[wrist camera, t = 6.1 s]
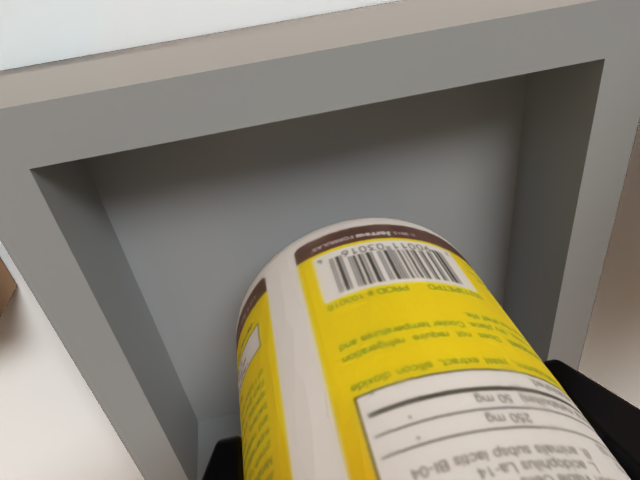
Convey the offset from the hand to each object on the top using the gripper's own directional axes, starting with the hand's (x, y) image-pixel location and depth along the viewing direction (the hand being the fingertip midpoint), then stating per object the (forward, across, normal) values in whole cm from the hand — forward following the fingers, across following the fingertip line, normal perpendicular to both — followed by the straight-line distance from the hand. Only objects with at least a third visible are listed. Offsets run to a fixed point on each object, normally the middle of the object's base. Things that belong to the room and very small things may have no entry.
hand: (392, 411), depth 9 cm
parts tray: (+6, 0, 0) cm, 6 cm away
